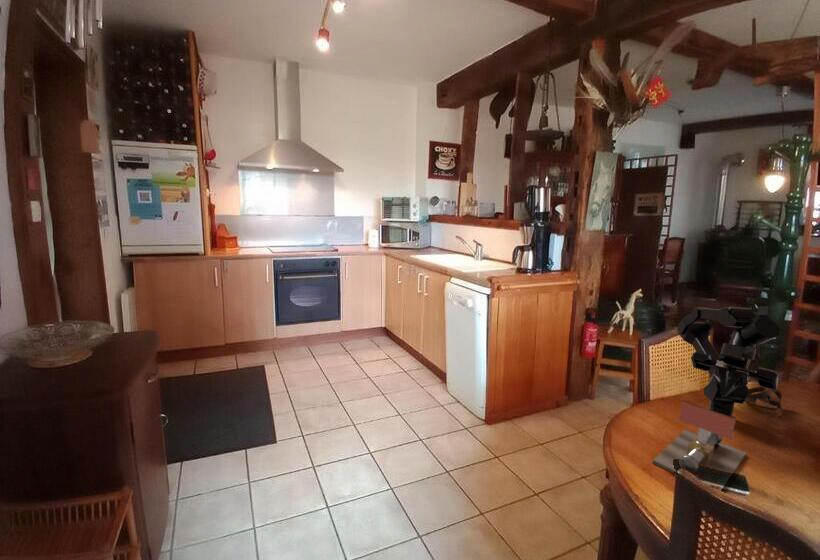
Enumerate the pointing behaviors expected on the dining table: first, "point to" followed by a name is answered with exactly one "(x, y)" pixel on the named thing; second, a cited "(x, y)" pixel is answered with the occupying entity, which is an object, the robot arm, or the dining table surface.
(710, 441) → the pipe and valve
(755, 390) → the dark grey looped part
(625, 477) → the dining table surface
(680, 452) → the mounting board
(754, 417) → the dining table surface
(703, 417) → the valve lever
